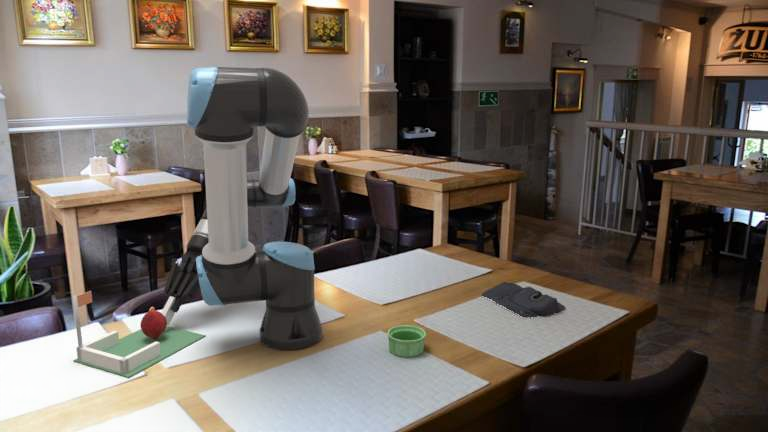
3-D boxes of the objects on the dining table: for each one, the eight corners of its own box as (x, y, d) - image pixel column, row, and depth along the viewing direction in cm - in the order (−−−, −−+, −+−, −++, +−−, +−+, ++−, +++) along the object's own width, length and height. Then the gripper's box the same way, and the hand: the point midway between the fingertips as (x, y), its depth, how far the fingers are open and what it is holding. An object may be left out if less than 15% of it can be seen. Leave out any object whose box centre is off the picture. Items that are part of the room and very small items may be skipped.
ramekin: (398, 362, 129) (399, 343, 128) (380, 346, 137) (380, 329, 136) (432, 353, 133) (433, 336, 132) (413, 339, 141) (413, 322, 140)
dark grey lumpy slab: (516, 288, 178) (517, 273, 177) (570, 312, 159) (571, 296, 158) (476, 296, 171) (477, 281, 170) (528, 322, 152) (529, 305, 151)
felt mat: (205, 336, 141) (205, 335, 141) (128, 378, 121) (128, 376, 121) (154, 324, 148) (154, 322, 148) (73, 361, 128) (73, 360, 128)
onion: (160, 344, 136) (155, 313, 134) (138, 343, 137) (133, 312, 135) (173, 333, 141) (168, 303, 139) (151, 332, 142) (146, 302, 140)
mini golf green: (160, 354, 131) (155, 292, 127) (124, 374, 122) (117, 307, 119) (115, 342, 137) (109, 282, 133) (77, 360, 128) (70, 296, 125)
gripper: (232, 250, 153) (191, 333, 142) (195, 244, 158) (153, 323, 148) (217, 236, 147) (173, 321, 136) (179, 230, 152) (134, 312, 142)
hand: (163, 322), depth 142 cm, fingers closed
